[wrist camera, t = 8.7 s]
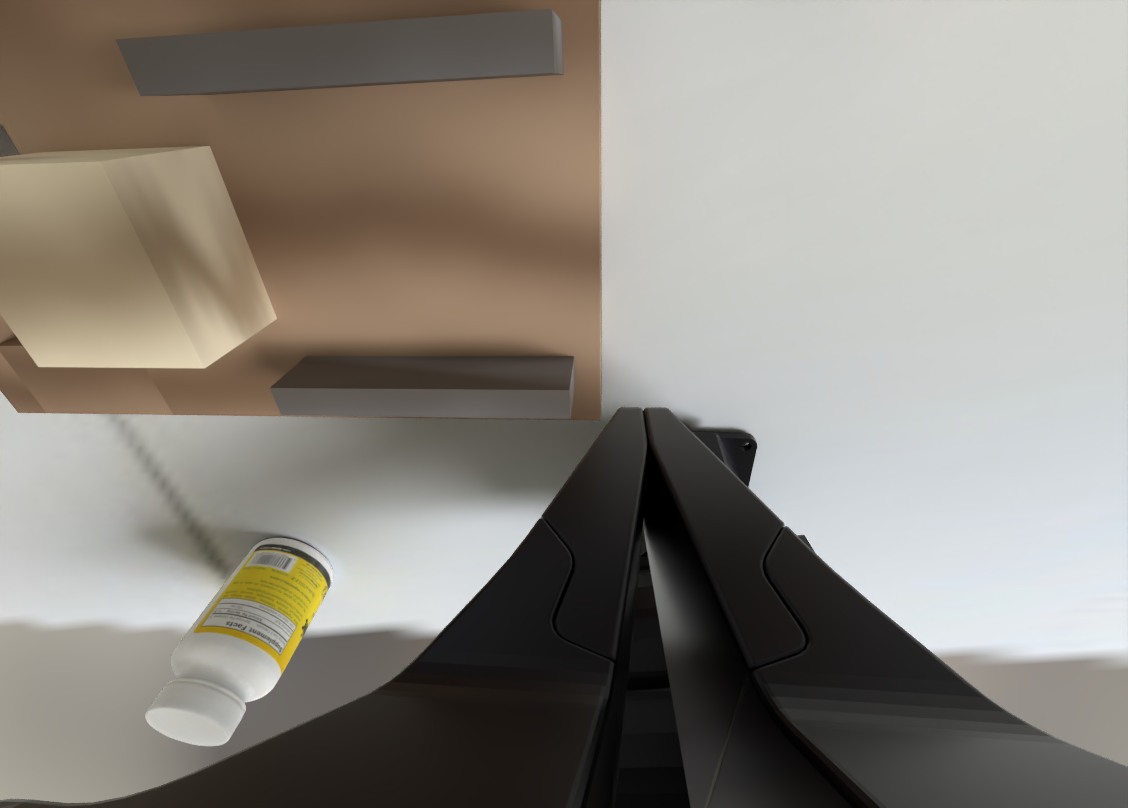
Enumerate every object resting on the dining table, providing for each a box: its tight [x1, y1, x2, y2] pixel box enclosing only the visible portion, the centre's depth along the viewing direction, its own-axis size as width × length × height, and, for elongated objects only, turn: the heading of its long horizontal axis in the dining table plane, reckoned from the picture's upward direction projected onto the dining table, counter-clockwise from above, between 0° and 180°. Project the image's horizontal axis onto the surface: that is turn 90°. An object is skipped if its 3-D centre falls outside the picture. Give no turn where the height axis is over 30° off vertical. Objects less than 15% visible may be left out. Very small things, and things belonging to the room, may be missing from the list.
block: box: [0, 146, 277, 368], centre depth 16 cm, size 6×6×4 cm
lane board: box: [0, 0, 602, 420], centre depth 17 cm, size 15×28×5 cm, turn 93°
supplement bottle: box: [145, 538, 333, 746], centre depth 27 cm, size 5×5×10 cm
